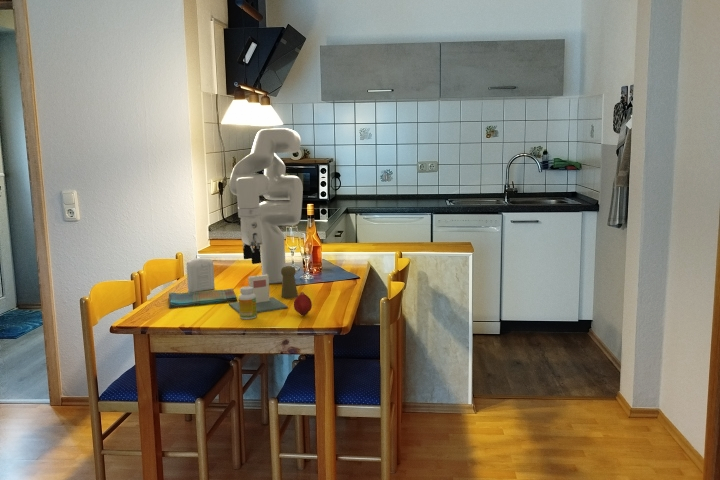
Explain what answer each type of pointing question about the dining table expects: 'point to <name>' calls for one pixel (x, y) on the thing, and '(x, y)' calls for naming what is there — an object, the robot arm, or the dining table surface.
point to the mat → (263, 305)
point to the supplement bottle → (247, 303)
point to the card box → (260, 287)
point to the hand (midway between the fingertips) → (252, 260)
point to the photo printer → (200, 274)
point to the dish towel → (201, 298)
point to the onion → (302, 304)
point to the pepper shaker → (288, 283)
